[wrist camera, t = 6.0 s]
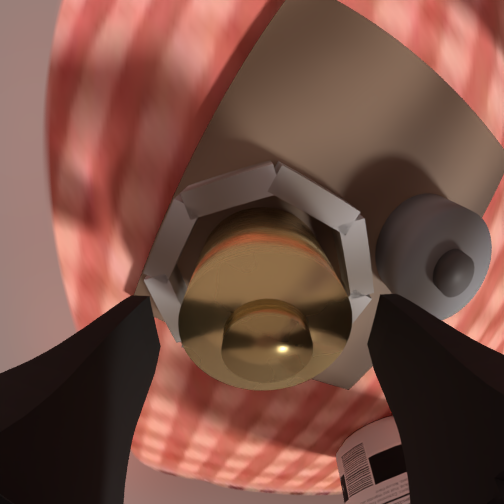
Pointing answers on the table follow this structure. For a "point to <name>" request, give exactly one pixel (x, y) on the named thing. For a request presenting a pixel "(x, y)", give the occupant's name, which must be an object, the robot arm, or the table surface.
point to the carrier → (341, 171)
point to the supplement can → (374, 465)
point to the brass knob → (264, 303)
